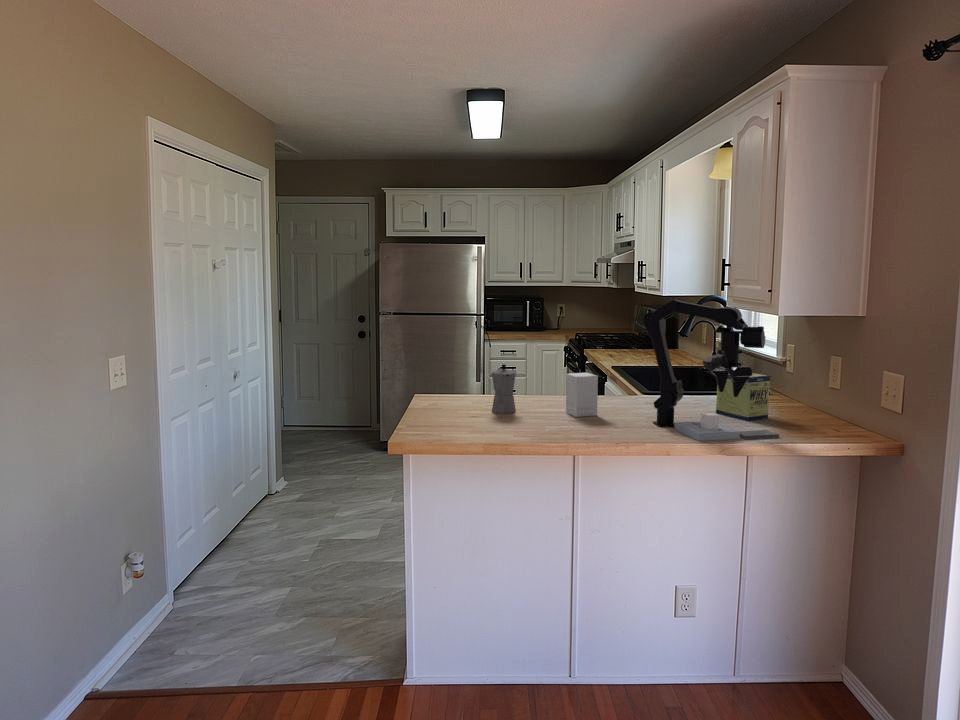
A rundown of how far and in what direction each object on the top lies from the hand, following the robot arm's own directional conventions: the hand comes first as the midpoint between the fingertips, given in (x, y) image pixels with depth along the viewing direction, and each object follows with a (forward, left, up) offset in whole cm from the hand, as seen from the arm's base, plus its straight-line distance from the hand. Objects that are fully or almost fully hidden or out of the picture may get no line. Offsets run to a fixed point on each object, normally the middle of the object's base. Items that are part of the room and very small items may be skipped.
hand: (728, 394), depth 225 cm
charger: (+3, -8, -13) cm, 15 cm away
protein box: (-22, +19, -13) cm, 32 cm away
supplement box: (-37, -37, -13) cm, 54 cm away
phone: (+7, +6, -13) cm, 16 cm away
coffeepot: (-49, -64, -13) cm, 82 cm away
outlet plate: (+1, -8, -13) cm, 15 cm away
